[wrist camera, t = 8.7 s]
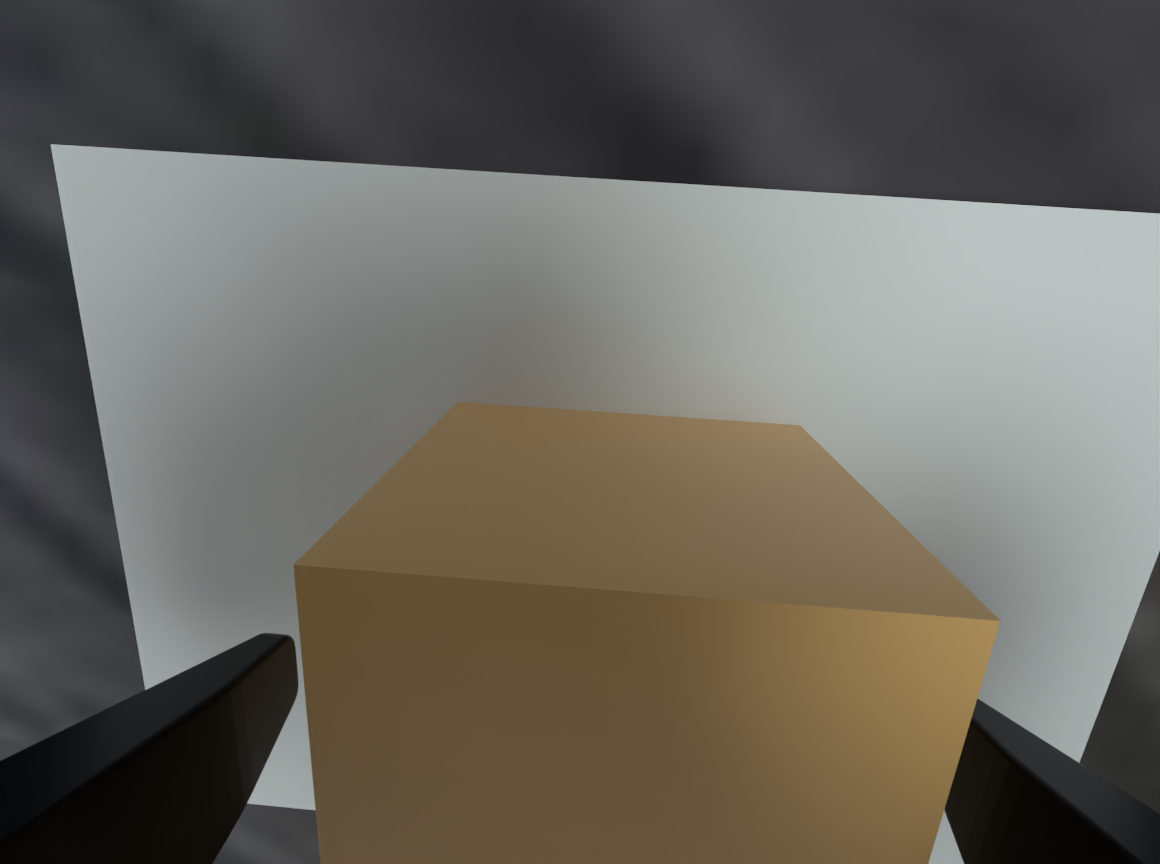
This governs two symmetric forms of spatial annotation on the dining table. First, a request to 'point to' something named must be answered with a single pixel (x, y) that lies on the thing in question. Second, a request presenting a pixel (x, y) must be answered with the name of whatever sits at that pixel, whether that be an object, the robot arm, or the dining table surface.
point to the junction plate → (615, 376)
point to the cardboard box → (630, 652)
